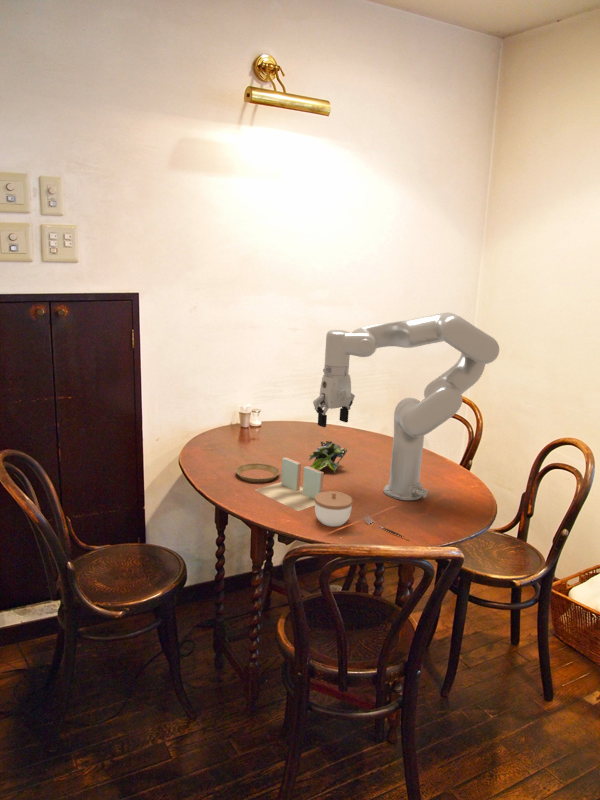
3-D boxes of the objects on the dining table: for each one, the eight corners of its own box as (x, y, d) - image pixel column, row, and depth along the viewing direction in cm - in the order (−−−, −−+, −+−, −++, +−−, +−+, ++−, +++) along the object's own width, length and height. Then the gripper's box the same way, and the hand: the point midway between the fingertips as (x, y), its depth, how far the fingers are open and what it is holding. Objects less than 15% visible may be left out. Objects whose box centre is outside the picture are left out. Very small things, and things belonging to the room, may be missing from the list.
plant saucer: (226, 475, 210) (227, 468, 209) (262, 467, 219) (262, 460, 219) (252, 489, 199) (252, 482, 198) (288, 480, 208) (288, 473, 208)
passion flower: (323, 482, 224) (341, 449, 227) (341, 488, 213) (359, 454, 216) (297, 465, 219) (315, 432, 222) (314, 471, 208) (333, 436, 211)
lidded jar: (348, 516, 183) (350, 486, 181) (352, 532, 172) (355, 501, 170) (312, 514, 182) (314, 484, 180) (314, 531, 172) (316, 499, 170)
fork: (406, 543, 169) (406, 536, 168) (361, 522, 180) (362, 516, 179) (411, 540, 170) (412, 534, 170) (367, 520, 182) (368, 514, 181)
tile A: (321, 499, 192) (323, 472, 190) (318, 501, 191) (320, 473, 189) (306, 492, 197) (307, 465, 195) (302, 493, 196) (304, 466, 193)
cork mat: (330, 501, 193) (330, 499, 192) (297, 513, 183) (297, 511, 183) (286, 481, 206) (286, 480, 206) (254, 491, 197) (254, 490, 197)
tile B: (299, 489, 199) (301, 463, 197) (295, 490, 198) (297, 464, 196) (284, 483, 204) (286, 457, 201) (281, 484, 203) (282, 458, 200)
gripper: (324, 375, 183) (321, 431, 187) (364, 370, 194) (360, 422, 198) (307, 371, 188) (304, 425, 192) (346, 365, 200) (343, 417, 204)
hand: (332, 423), depth 195 cm, fingers open, 9 cm apart
